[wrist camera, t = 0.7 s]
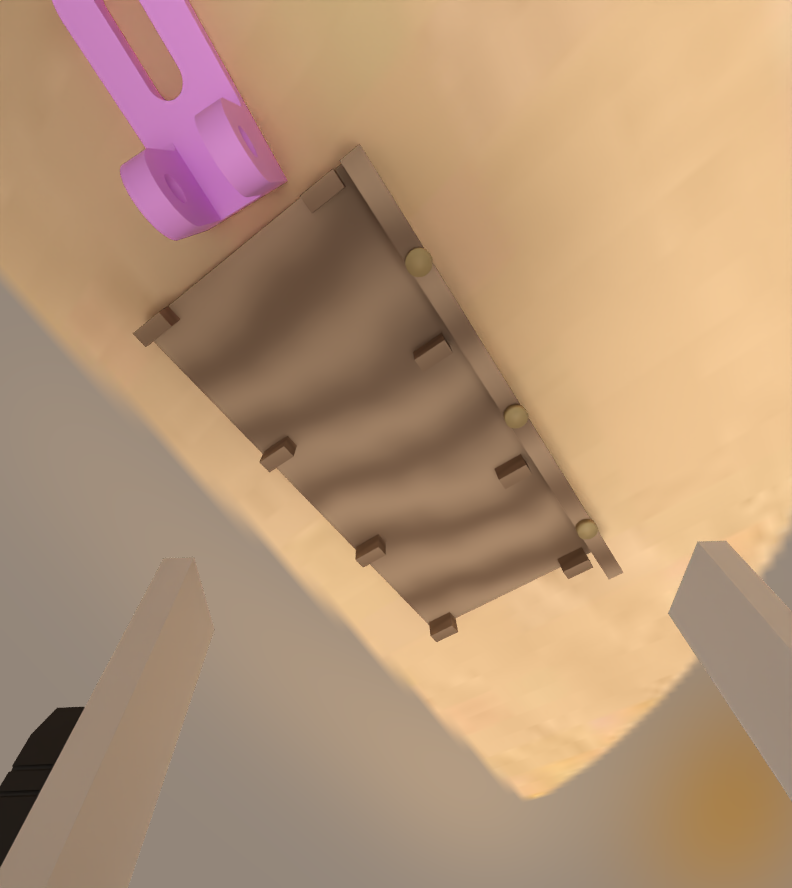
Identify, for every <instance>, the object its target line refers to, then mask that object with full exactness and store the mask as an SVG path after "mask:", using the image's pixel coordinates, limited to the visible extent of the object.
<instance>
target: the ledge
mask: <svg viewBox="0 0 792 888" xmlns="http://www.w3.org/2000/svg"><path fill="white" fill-rule="evenodd" d="M340 162H341V163H342V164H341V165H339V166H338V167H337V168H336V169H332V170H331V171H330V172H328V173H327V174H326V175H325V176H323V177H322V178H321V179H320V180H319V181H317V182H316V183H315V184H314V185H313V186H311V187H310V188H309V189H308V190H306V191H305V192H304V193H303V194H302V195H300V198H299V199H298V200H297V201H296V202H294V203H293V204H292V205H291V206H289V207H288V208H287V209H286V210H285V211H283V212H282V213H281V214H280V215H279V216H277V217H276V218H275V219H274V220H272V221H271V222H270V223H269V224H268V225H266V226H265V227H264V228H263V229H262V230H260V231H259V232H258V233H257V234H255V235H254V236H253V237H252V238H251V239H249V240H248V241H247V242H246V243H244V244H243V245H242V246H241V247H240V248H238V249H237V250H236V251H235V252H234V253H232V254H231V255H230V256H229V257H227V258H226V259H225V260H224V261H223V262H221V263H220V264H219V265H218V266H216V267H215V268H214V269H213V270H212V271H210V272H209V273H208V274H207V275H206V276H204V277H203V278H202V279H201V280H199V281H198V282H197V283H196V284H195V285H193V286H192V287H191V288H190V289H189V290H187V291H186V292H185V293H184V294H182V295H181V296H180V297H179V298H178V299H176V300H175V301H174V302H173V303H171V304H170V305H169V306H168V307H166V308H165V309H163V310H161V311H160V312H158V313H157V314H156V315H155V316H153V317H152V318H151V319H150V320H149V321H147V322H146V323H145V324H144V325H143V326H141V327H140V328H139V329H138V330H136V331H135V332H134V333H133V335H134V336H135V337H136V338H137V339H138V340H139V341H140V342H141V343H142V344H143V345H144V346H145V347H147V346H148V345H149V344H151V343H152V342H153V341H154V342H155V343H156V344H157V345H158V346H159V347H160V348H161V350H162V351H163V352H164V353H165V354H166V355H167V356H168V357H169V358H170V359H171V360H172V361H173V362H174V363H175V364H176V365H177V366H178V367H179V368H180V369H181V370H182V371H183V372H184V373H185V374H186V375H187V376H188V377H189V378H190V379H191V380H192V381H193V382H194V383H195V385H196V386H197V387H198V388H199V389H200V390H201V391H202V392H203V393H204V394H205V395H206V396H207V397H208V398H209V399H210V400H211V401H212V402H213V403H214V404H215V405H216V406H217V407H218V408H219V409H220V410H221V411H222V412H223V413H224V414H225V415H226V416H227V417H228V418H229V420H230V421H231V422H232V423H233V424H234V425H235V426H236V427H237V428H238V429H239V430H240V431H241V432H242V433H243V434H244V435H245V436H246V437H247V438H248V439H249V440H250V441H251V442H252V443H253V444H254V445H255V446H256V447H257V448H258V449H259V450H260V451H261V452H262V454H263V455H262V458H261V460H260V463H261V464H262V465H263V466H264V467H265V468H266V469H267V470H268V471H269V472H271V471H272V470H274V469H275V468H277V469H278V470H279V471H280V472H281V473H282V474H283V475H284V476H285V477H286V478H287V479H288V480H289V481H290V482H291V483H292V484H293V485H294V486H295V487H296V489H297V490H298V491H299V492H300V493H301V494H302V495H303V496H304V497H305V498H306V499H307V500H308V501H309V502H310V503H311V504H312V505H313V506H314V507H315V508H316V509H317V510H318V511H319V512H320V513H321V514H322V515H323V516H324V517H325V518H326V519H327V520H328V521H329V522H330V524H331V525H332V526H333V527H334V528H335V529H336V530H337V531H338V532H339V533H340V534H341V535H342V536H343V537H344V538H345V539H346V540H347V541H348V542H349V543H350V544H351V545H352V546H353V547H354V548H355V549H356V561H357V562H358V563H359V564H360V565H361V566H362V567H365V566H367V565H369V564H370V565H371V566H372V567H373V568H374V569H375V570H376V571H377V572H378V573H379V574H380V575H381V576H382V577H383V578H384V579H385V580H386V581H387V582H388V583H389V584H390V585H391V586H392V587H393V588H394V589H395V590H396V591H397V592H398V594H399V595H400V596H401V597H402V598H403V599H404V600H405V601H406V602H407V603H408V604H409V605H410V606H411V607H412V608H413V609H414V610H415V611H416V612H417V613H418V614H419V615H420V616H421V617H422V618H423V619H424V620H425V621H426V622H427V623H428V624H429V626H430V634H431V637H432V638H433V639H434V640H435V641H436V642H438V641H440V640H442V639H444V638H446V637H448V636H451V635H453V634H455V633H457V632H458V630H457V624H456V618H457V617H459V616H461V615H463V614H465V613H467V612H469V611H471V610H473V609H475V608H478V607H480V606H482V605H484V604H486V603H488V602H490V601H492V600H494V599H496V598H498V597H500V596H502V595H504V594H506V593H508V592H510V591H512V590H514V589H517V588H519V587H521V586H523V585H525V584H527V583H529V582H531V581H533V580H535V579H537V578H539V577H541V576H543V575H545V574H547V573H549V572H551V571H553V570H556V569H558V568H560V567H561V568H562V570H563V572H564V574H565V575H566V576H567V578H568V579H570V578H572V577H574V576H576V575H578V574H580V573H582V572H584V571H586V570H589V569H591V568H593V566H592V564H591V562H590V560H589V559H588V557H587V555H586V554H588V553H590V552H592V554H593V555H594V557H595V559H596V560H597V562H598V563H599V565H600V566H601V568H602V569H603V571H604V573H605V574H606V576H607V577H608V579H611V578H613V577H615V576H617V575H619V574H622V573H623V571H622V569H621V568H620V566H619V564H618V563H617V561H616V560H615V558H614V556H613V555H612V553H611V551H610V550H609V548H608V547H607V545H606V543H605V542H604V540H603V538H602V537H601V535H600V534H599V532H598V528H597V526H596V524H595V523H594V521H593V520H591V519H590V517H589V516H588V514H587V512H586V511H585V509H584V508H583V506H582V504H581V503H580V501H579V499H578V498H577V496H576V495H575V493H574V491H573V490H572V488H571V486H570V485H569V483H568V482H567V480H566V478H565V477H564V475H563V473H562V472H561V470H560V469H559V467H558V465H557V464H556V462H555V460H554V459H553V457H552V456H551V454H550V452H549V451H548V449H547V447H546V446H545V444H544V443H543V441H542V439H541V438H540V436H539V434H538V433H537V431H536V430H535V428H534V426H533V425H532V423H531V421H530V420H529V418H528V413H527V412H526V410H525V408H524V407H523V406H522V405H520V404H519V402H518V400H517V399H516V397H515V395H514V394H513V392H512V391H511V389H510V387H509V386H508V384H507V382H506V381H505V379H504V378H503V376H502V374H501V373H500V371H499V369H498V368H497V366H496V365H495V363H494V361H493V360H492V358H491V356H490V355H489V353H488V352H487V350H486V348H485V347H484V345H483V343H482V342H481V340H480V339H479V337H478V335H477V334H476V332H475V330H474V329H473V327H472V326H471V324H470V322H469V321H468V319H467V317H466V316H465V314H464V312H463V311H462V309H461V308H460V306H459V304H458V303H457V301H456V299H455V298H454V296H453V295H452V293H451V291H450V290H449V288H448V286H447V285H446V283H445V282H444V280H443V278H442V277H441V275H440V273H439V272H438V270H437V269H436V267H435V265H434V264H433V261H432V257H431V255H430V253H429V252H428V251H427V250H426V249H424V247H423V246H422V244H421V243H420V241H419V239H418V238H417V236H416V234H415V233H414V231H413V230H412V228H411V226H410V225H409V223H408V221H407V220H406V218H405V217H404V215H403V213H402V212H401V210H400V208H399V207H398V205H397V204H396V202H395V200H394V199H393V197H392V195H391V194H390V192H389V191H388V189H387V187H386V186H385V184H384V182H383V181H382V179H381V178H380V176H379V174H378V173H377V171H376V169H375V168H374V166H373V165H372V163H371V161H370V160H369V158H368V156H367V155H366V153H365V152H364V150H363V148H362V147H361V145H360V144H359V145H358V146H357V147H355V148H354V149H353V150H352V151H351V152H349V153H348V154H347V155H346V156H345V157H343V158H342V159H341V160H340Z"/></svg>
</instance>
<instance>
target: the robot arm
mask: <svg viewBox="0 0 792 888" xmlns="http://www.w3.org/2000/svg"><path fill="white" fill-rule="evenodd" d="M668 614H669V615H670V617H671V619H672V620H673V622H674V623H675V625H676V626H677V628H678V629H679V631H680V632H681V634H682V635H683V637H684V638H685V640H686V641H687V643H688V644H689V646H690V647H691V649H692V650H693V652H694V653H695V655H696V656H697V658H698V660H699V661H700V663H701V664H702V666H703V667H704V668H705V670H706V672H707V673H708V675H709V676H710V678H711V679H712V681H713V682H714V684H715V685H716V687H717V688H718V690H719V691H720V693H721V694H722V696H723V698H724V699H725V700H726V702H727V704H728V705H729V707H730V708H731V710H732V711H733V713H734V714H735V716H736V717H737V719H738V720H739V722H740V723H741V725H742V726H743V728H744V729H745V731H746V732H747V734H748V735H749V737H750V738H751V740H752V742H753V743H754V745H755V746H756V748H757V749H758V751H759V752H760V754H761V755H762V757H763V758H764V760H765V761H766V763H767V764H768V766H769V767H770V769H771V770H772V772H773V773H774V775H775V776H776V778H777V779H778V781H779V783H780V784H781V785H782V787H783V788H784V790H785V791H786V793H787V795H788V796H789V798H790V799H791V801H792V611H791V610H790V609H789V608H788V607H787V606H786V604H785V603H784V602H783V601H782V600H781V599H780V598H779V597H778V596H777V595H776V594H775V593H774V592H773V591H772V590H771V588H769V586H768V585H767V584H766V583H765V582H764V581H763V580H762V579H761V578H760V577H759V576H758V575H757V574H756V572H755V571H754V570H753V569H752V568H751V567H750V566H749V565H748V564H747V563H746V562H745V561H744V560H743V559H742V558H741V556H740V555H739V554H738V553H737V552H736V551H735V550H734V549H733V548H732V547H731V546H730V545H729V544H728V543H727V542H726V541H706V542H697V545H696V547H695V549H694V552H693V554H692V557H691V559H690V562H689V564H688V566H687V569H686V571H685V574H684V576H683V579H682V581H681V583H680V586H679V588H678V591H677V593H676V596H675V598H674V601H673V603H672V605H671V608H670V610H669V613H668ZM214 630H215V629H214V626H213V623H212V619H211V615H210V612H209V608H208V605H207V601H206V597H205V594H204V590H203V587H202V583H201V580H200V576H199V573H198V569H197V566H196V562H195V558H194V557H186V558H185V557H182V558H163V560H162V562H161V564H160V566H159V568H158V569H157V571H156V573H155V575H154V577H153V579H152V581H151V583H150V585H149V587H148V589H147V590H146V592H145V594H144V596H143V598H142V600H141V602H140V604H139V605H138V607H137V609H136V611H135V613H134V615H133V617H132V619H131V621H130V623H129V625H128V627H127V628H126V630H125V632H124V634H123V636H122V638H121V640H120V642H119V644H118V645H117V647H116V649H115V651H114V653H113V655H112V657H111V659H110V661H109V663H108V664H107V666H106V668H105V670H104V672H103V674H102V676H101V678H100V679H99V682H98V683H97V685H96V687H95V689H94V691H93V693H92V695H91V697H90V698H89V700H88V702H87V704H86V706H85V707H68V708H57V709H56V710H55V711H54V712H53V713H52V714H51V715H50V716H49V717H48V718H47V719H46V720H45V721H44V722H43V723H42V724H41V725H40V726H39V727H38V728H37V729H36V730H35V731H34V732H33V733H32V734H31V735H30V737H29V739H28V740H27V742H26V744H25V746H24V747H23V749H22V750H21V752H20V754H19V755H18V757H17V759H16V761H15V762H14V764H13V768H12V771H11V772H8V774H7V776H6V777H5V779H4V781H3V782H2V784H1V786H0V888H128V886H129V883H130V880H131V877H132V874H133V871H134V868H135V865H136V862H137V859H138V856H139V853H140V850H141V847H142V844H143V841H144V838H145V835H146V832H147V829H148V826H149V823H150V820H151V818H152V815H153V811H154V808H155V806H156V803H157V800H158V797H159V794H160V791H161V788H162V785H163V782H164V779H165V776H166V773H167V770H168V767H169V764H170V761H171V758H172V755H173V752H174V749H175V746H176V743H177V740H178V737H179V734H180V731H181V728H182V725H183V722H184V719H185V716H186V714H187V710H188V707H189V704H190V702H191V699H192V696H193V693H194V690H195V686H196V684H197V681H198V678H199V675H200V672H201V669H202V666H203V663H204V660H205V657H206V654H207V651H208V648H209V645H210V642H211V639H212V636H213V633H214Z"/></svg>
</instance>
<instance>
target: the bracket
mask: <svg viewBox="0 0 792 888" xmlns="http://www.w3.org/2000/svg"><path fill="white" fill-rule="evenodd" d="M139 1H140V3H141V5H142V6H143V8H144V10H145V12H146V13H147V15H148V17H149V18H150V20H151V22H152V23H153V25H154V27H155V29H156V30H157V32H158V34H159V35H160V37H161V39H162V40H163V42H164V44H165V46H166V47H167V49H168V51H169V52H170V54H171V56H172V57H173V59H174V61H175V63H176V64H177V66H178V68H179V70H180V72H181V75H182V79H183V87H182V91H181V93H180V95H179V96H178V97H177V98H176V99H174V100H171V101H166V100H165V99H164V98H163V97H162V96H161V95H160V94H159V92H158V91H157V89H156V87H155V86H154V84H153V82H152V81H151V79H150V78H149V76H148V74H147V73H146V71H145V70H144V68H143V66H142V65H141V63H140V61H139V60H138V58H137V57H136V55H135V53H134V52H133V50H132V48H131V47H130V45H129V44H128V42H127V40H126V39H125V37H124V36H123V34H122V32H121V31H120V29H119V27H118V26H117V24H116V23H115V21H114V19H113V18H112V16H111V14H110V13H109V11H108V10H107V8H106V6H105V4H104V1H103V0H52V2H53V4H54V7H55V9H56V11H57V13H58V15H59V17H60V19H61V20H62V22H63V23H64V25H65V27H66V28H67V30H68V31H69V33H70V34H71V36H72V37H73V39H74V40H75V42H76V43H77V45H78V46H79V48H80V49H81V51H82V52H83V54H84V55H85V57H86V58H87V60H88V61H89V63H90V64H91V66H92V67H93V69H94V70H95V72H96V74H97V75H98V77H99V78H100V80H101V81H102V83H103V84H104V86H105V87H106V89H107V90H108V92H109V93H110V95H111V96H112V98H113V99H114V101H115V102H116V104H117V105H118V107H119V108H120V110H121V111H122V113H123V114H124V116H125V117H126V119H127V121H128V122H129V124H130V125H131V127H132V128H133V130H134V131H135V133H136V134H137V136H138V137H139V139H140V140H141V142H142V143H143V145H144V146H145V148H146V149H145V150H143V151H142V152H140V153H139V154H137V155H136V156H134V157H133V158H131V159H130V160H128V161H127V162H126V163H124V164H123V165H121V167H120V175H121V178H122V181H123V184H124V186H125V188H126V190H127V192H128V194H129V196H130V197H131V199H132V200H133V202H134V203H135V205H136V206H137V208H138V209H139V210H140V212H141V213H142V214H143V215H144V217H145V218H146V219H147V220H148V221H149V222H150V223H151V224H152V225H153V226H154V227H155V228H156V229H157V230H158V231H159V232H160V233H162V234H163V235H164V236H166V237H168V238H169V239H172V240H180V239H183V238H186V237H189V236H192V235H195V234H198V233H201V232H204V231H207V230H209V229H211V228H212V227H214V226H216V225H217V224H219V223H220V222H222V221H224V220H225V219H227V218H229V217H230V216H232V215H233V214H235V213H237V212H238V211H240V210H242V209H243V208H245V207H246V206H248V205H250V204H251V203H253V202H255V201H256V200H258V199H259V198H261V197H263V196H264V195H266V194H268V193H269V192H271V191H272V190H274V189H276V188H277V187H279V186H281V185H282V184H284V183H285V182H287V179H286V177H285V175H284V174H283V172H282V170H281V168H280V166H279V164H278V163H277V161H276V159H275V157H274V155H273V154H272V152H271V150H270V148H269V146H268V144H267V143H266V141H265V139H264V137H263V135H262V134H261V132H260V130H259V128H258V126H257V124H256V123H255V121H254V119H253V117H252V115H251V113H250V112H249V110H248V108H247V106H246V104H245V103H244V101H243V99H242V97H241V95H240V93H239V92H238V90H237V88H236V86H235V84H234V83H233V81H232V79H231V77H230V75H229V73H228V72H227V70H226V68H225V66H224V64H223V63H222V61H221V59H220V57H219V55H218V53H217V52H216V50H215V48H214V46H213V44H212V43H211V41H210V39H209V37H208V35H207V33H206V32H205V30H204V28H203V26H202V24H201V23H200V21H199V19H198V17H197V15H196V13H195V12H194V10H193V8H192V6H191V4H190V3H189V1H188V0H139Z"/></svg>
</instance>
